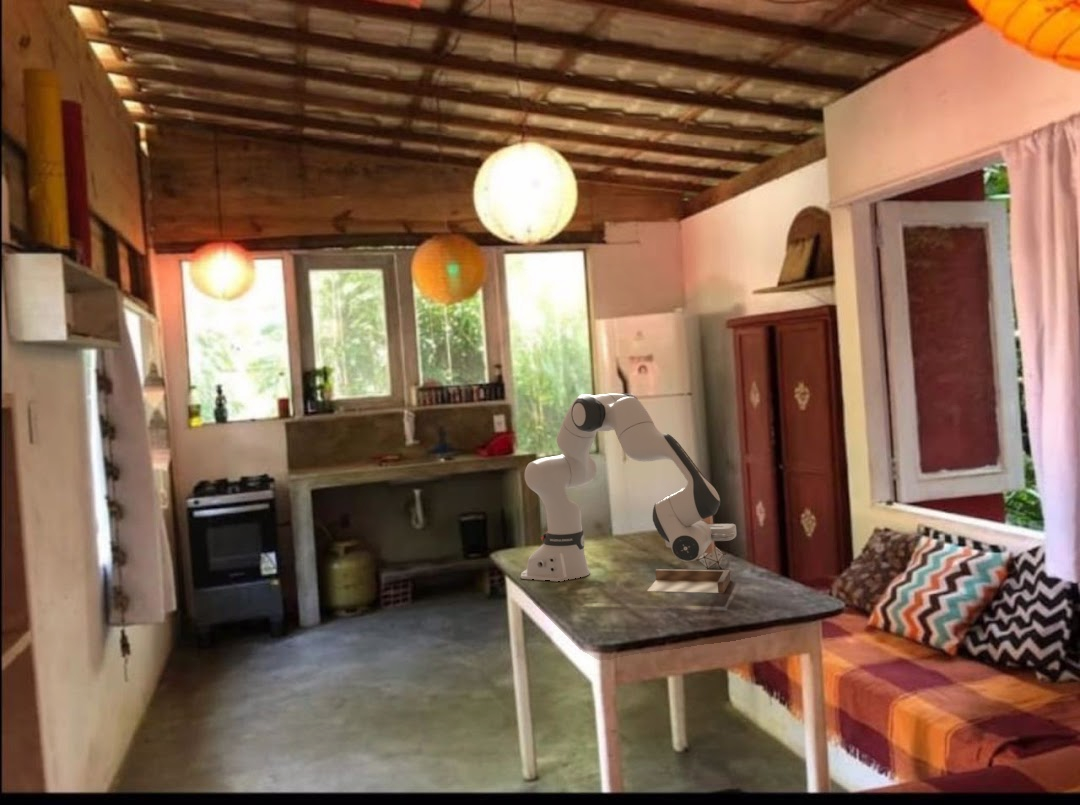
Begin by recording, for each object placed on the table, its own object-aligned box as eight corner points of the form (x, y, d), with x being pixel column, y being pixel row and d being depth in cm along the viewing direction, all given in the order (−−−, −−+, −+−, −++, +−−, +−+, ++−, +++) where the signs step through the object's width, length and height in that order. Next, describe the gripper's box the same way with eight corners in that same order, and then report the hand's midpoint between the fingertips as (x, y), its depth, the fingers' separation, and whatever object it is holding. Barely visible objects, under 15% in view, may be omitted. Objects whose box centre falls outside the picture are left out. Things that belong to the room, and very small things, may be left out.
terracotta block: (694, 552, 246) (692, 511, 246) (697, 549, 251) (695, 508, 250) (712, 553, 244) (709, 511, 244) (714, 549, 249) (712, 508, 248)
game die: (717, 581, 268) (726, 560, 262) (691, 572, 270) (699, 551, 264) (722, 562, 275) (730, 541, 269) (696, 553, 277) (704, 532, 271)
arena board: (647, 594, 245) (646, 580, 245) (657, 582, 258) (656, 569, 258) (723, 596, 238) (723, 582, 238) (730, 583, 251) (729, 570, 251)
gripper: (733, 524, 231) (739, 515, 244) (659, 525, 238) (668, 516, 251) (734, 547, 232) (740, 537, 245) (660, 547, 239) (670, 537, 252)
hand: (703, 526), depth 248 cm, fingers closed on terracotta block, 5 cm apart
